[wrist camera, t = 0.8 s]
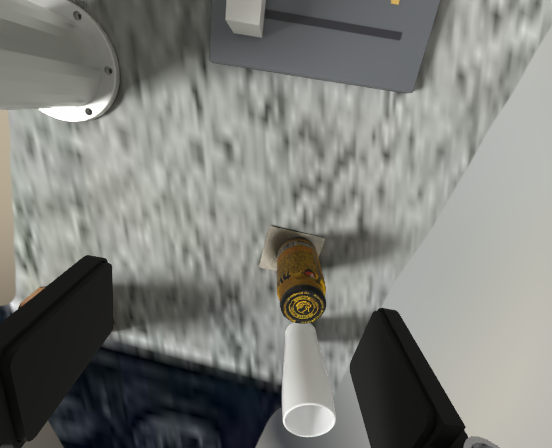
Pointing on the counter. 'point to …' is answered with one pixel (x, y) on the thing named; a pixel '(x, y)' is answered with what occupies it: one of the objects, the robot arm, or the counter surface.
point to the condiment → (296, 273)
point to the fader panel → (332, 40)
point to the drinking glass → (305, 384)
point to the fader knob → (246, 16)
